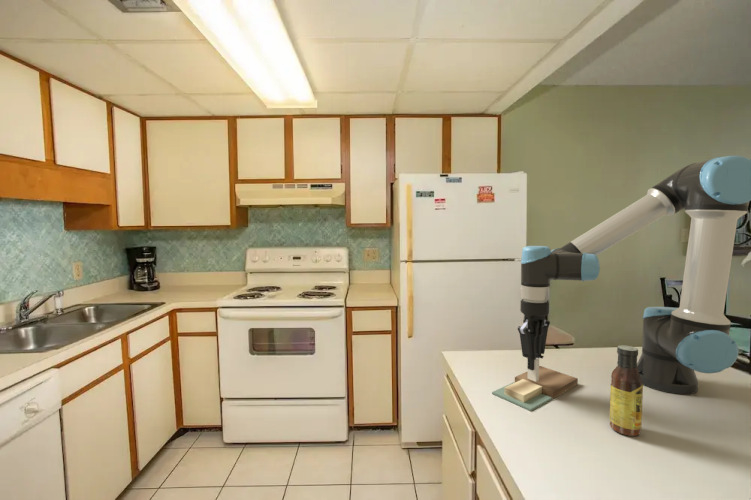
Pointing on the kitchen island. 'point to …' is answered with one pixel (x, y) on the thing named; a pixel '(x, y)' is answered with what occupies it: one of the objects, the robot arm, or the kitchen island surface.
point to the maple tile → (523, 390)
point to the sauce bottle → (626, 393)
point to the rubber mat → (527, 405)
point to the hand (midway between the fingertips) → (533, 379)
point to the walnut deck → (551, 381)
